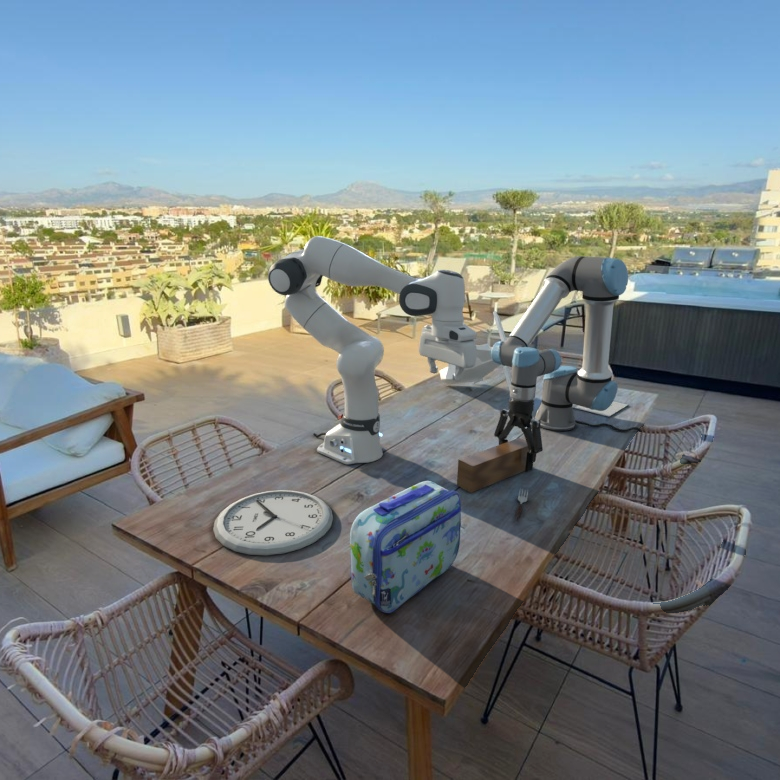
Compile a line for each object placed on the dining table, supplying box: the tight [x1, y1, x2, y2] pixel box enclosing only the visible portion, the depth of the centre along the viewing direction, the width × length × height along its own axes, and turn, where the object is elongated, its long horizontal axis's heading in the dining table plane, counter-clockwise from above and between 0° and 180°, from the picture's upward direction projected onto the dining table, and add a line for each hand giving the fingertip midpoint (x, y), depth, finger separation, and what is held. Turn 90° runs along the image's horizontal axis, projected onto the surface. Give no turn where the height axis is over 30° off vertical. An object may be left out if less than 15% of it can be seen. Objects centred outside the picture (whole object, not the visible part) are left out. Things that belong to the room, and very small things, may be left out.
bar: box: [456, 437, 529, 494], centre depth 160 cm, size 28×6×8 cm, turn 128°
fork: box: [516, 487, 529, 521], centre depth 143 cm, size 3×16×2 cm, turn 160°
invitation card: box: [573, 400, 629, 418], centre depth 226 cm, size 21×1×15 cm
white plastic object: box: [438, 310, 512, 391], centre depth 245 cm, size 37×45×31 cm
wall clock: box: [212, 489, 334, 556], centre depth 134 cm, size 30×2×30 cm
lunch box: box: [349, 480, 462, 614], centre depth 109 cm, size 26×11×21 cm, turn 134°
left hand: (444, 376), depth 151 cm, fingers open, 8 cm apart
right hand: (515, 464), depth 166 cm, fingers open, 10 cm apart
